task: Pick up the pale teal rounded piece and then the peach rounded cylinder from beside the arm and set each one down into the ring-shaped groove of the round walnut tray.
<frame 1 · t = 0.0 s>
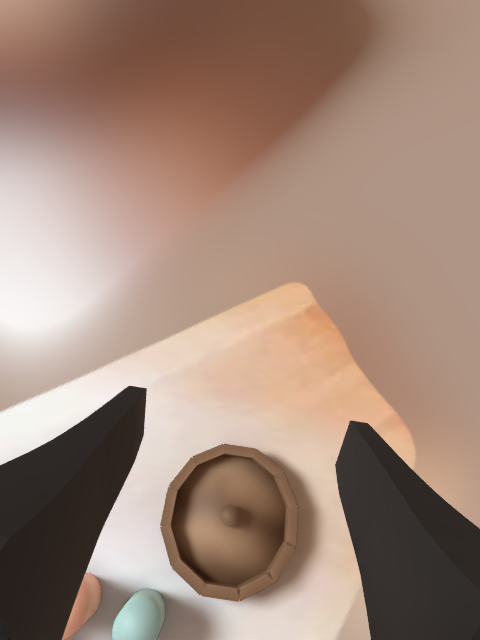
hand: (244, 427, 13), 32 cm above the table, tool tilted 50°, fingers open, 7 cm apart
pale teal rounded piece: (144, 613, 36), on the table
tray: (229, 515, 40), on the table
peach rounded cylinder: (80, 597, 36), on the table
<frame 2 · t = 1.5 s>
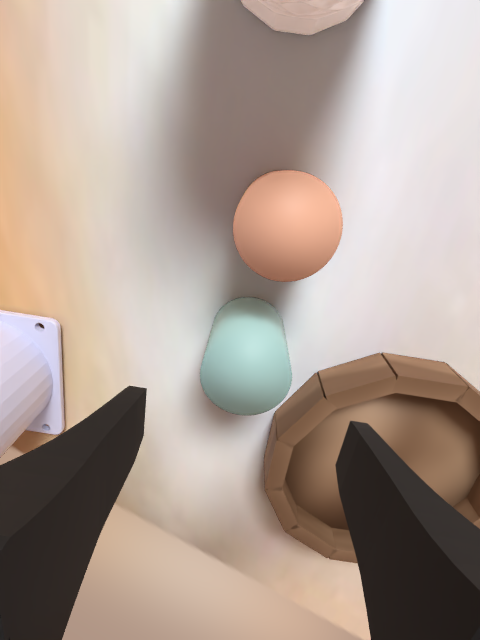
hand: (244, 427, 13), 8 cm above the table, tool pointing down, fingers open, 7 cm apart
pale teal rounded piece: (248, 330, 20), on the table
tray: (376, 452, 23), on the table
peach rounded cylinder: (279, 214, 18), on the table
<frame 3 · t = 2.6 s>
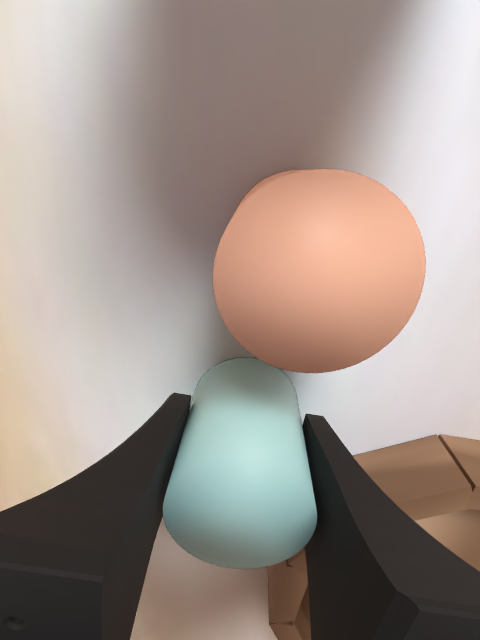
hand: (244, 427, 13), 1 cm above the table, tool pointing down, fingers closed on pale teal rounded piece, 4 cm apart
pale teal rounded piece: (245, 403, 14), on the table, touching gripper
tray: (423, 559, 17), on the table
peach rounded cylinder: (293, 237, 12), on the table
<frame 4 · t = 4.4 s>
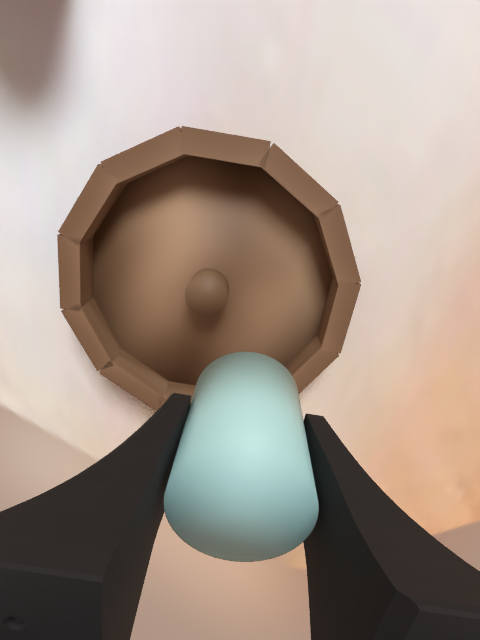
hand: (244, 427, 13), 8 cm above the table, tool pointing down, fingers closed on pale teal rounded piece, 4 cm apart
pale teal rounded piece: (246, 397, 14), point 7 cm above the table, touching gripper
tray: (211, 281, 19), on the table
when the fingers open (3 cm above the table, at t = 5.9 s): pale teal rounded piece stays where it is, resting on tray.
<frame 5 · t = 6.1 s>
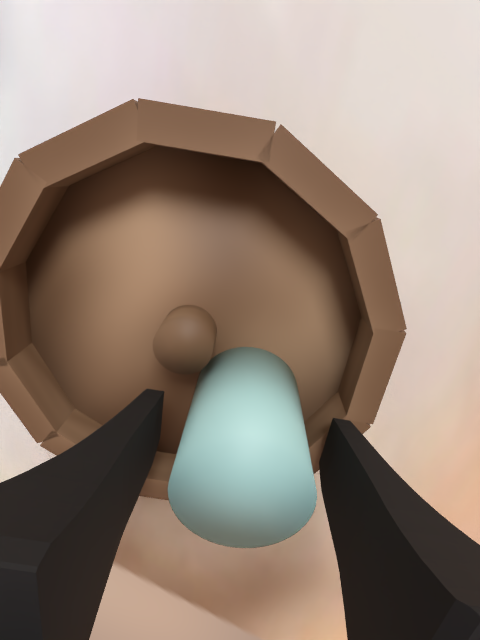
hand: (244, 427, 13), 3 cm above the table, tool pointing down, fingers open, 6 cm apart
pale teal rounded piece: (246, 392, 14), point 1 cm above the table, touching tray
tray: (194, 319, 14), on the table
when the fingers open (3 cm above the table, at t = 12.4 s): peach rounded cylinder stays where it is, resting on tray.
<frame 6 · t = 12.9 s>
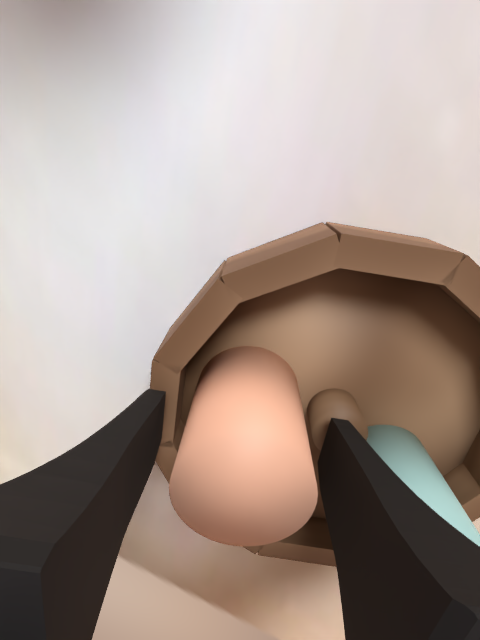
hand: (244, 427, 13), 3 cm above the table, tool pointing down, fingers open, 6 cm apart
pale teal rounded piece: (376, 462, 15), point 1 cm above the table, touching gripper, tray
tray: (327, 395, 15), on the table
peach rounded cylinder: (247, 391, 14), point 1 cm above the table, touching tray
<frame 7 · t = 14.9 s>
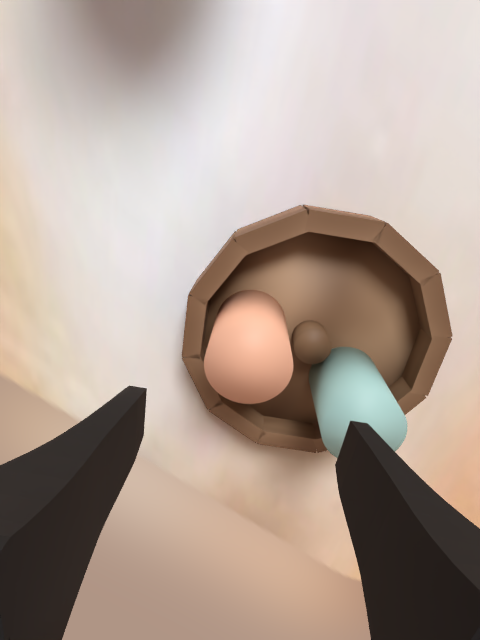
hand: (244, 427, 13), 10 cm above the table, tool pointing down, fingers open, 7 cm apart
pale teal rounded piece: (342, 376, 22), point 1 cm above the table, touching tray
tray: (307, 329, 22), on the table
peach rounded cylinder: (250, 322, 21), point 1 cm above the table, touching tray
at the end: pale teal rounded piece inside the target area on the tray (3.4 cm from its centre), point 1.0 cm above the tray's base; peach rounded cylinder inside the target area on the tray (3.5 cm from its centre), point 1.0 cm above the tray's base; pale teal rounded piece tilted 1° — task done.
